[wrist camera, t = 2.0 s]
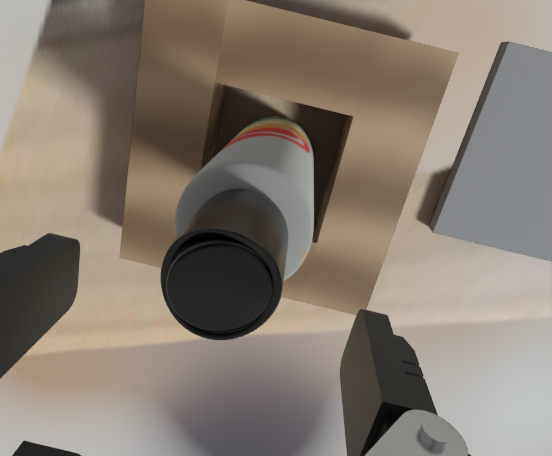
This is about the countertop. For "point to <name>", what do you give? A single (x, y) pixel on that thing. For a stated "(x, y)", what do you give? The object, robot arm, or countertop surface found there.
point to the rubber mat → (505, 160)
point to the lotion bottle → (241, 231)
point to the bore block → (294, 87)
